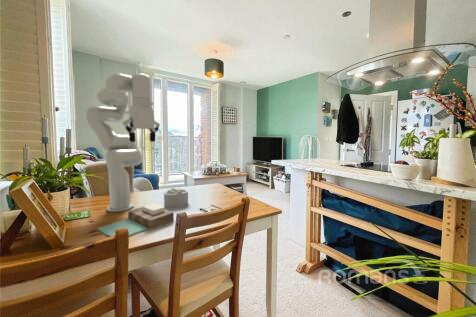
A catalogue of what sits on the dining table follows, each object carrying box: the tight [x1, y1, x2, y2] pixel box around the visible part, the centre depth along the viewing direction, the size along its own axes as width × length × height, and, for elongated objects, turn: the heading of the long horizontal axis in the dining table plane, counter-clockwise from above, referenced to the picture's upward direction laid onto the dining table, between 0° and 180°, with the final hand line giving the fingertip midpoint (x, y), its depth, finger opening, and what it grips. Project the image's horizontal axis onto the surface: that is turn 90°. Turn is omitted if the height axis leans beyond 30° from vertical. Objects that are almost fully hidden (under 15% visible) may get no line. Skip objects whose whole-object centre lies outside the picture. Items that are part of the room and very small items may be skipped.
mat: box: [97, 218, 149, 237], centre depth 91 cm, size 16×13×1 cm
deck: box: [127, 206, 175, 230], centre depth 101 cm, size 18×12×4 cm, turn 54°
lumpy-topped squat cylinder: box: [163, 187, 189, 208], centre depth 125 cm, size 10×13×9 cm
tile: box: [141, 202, 166, 215], centre depth 102 cm, size 9×6×2 cm, turn 54°
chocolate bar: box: [199, 204, 222, 213], centre depth 114 cm, size 9×1×18 cm
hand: (142, 141), depth 99 cm, fingers open, 9 cm apart
